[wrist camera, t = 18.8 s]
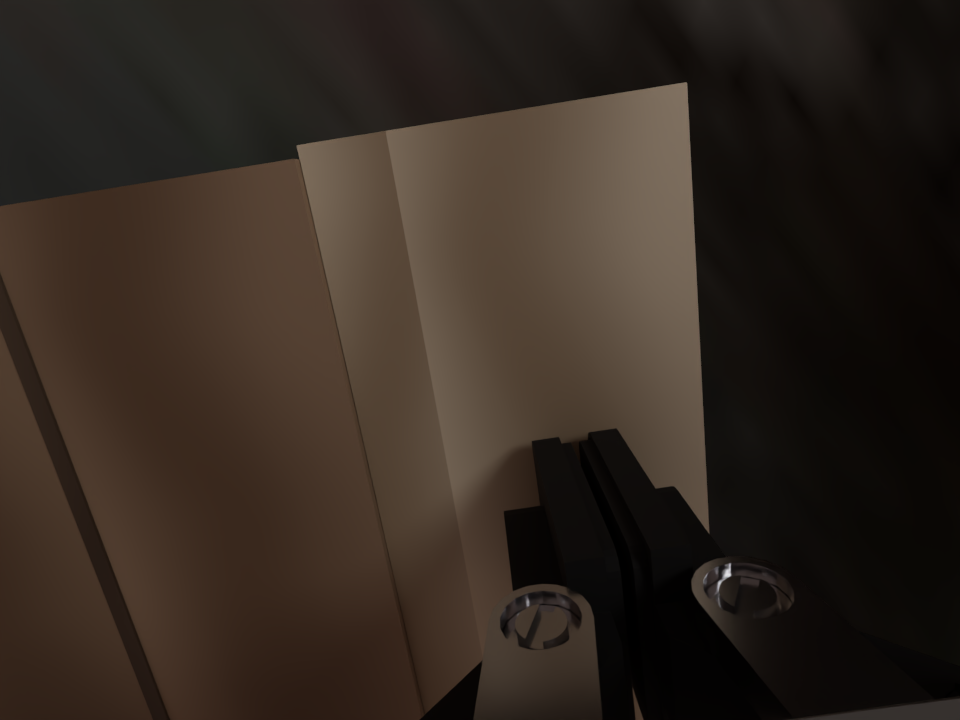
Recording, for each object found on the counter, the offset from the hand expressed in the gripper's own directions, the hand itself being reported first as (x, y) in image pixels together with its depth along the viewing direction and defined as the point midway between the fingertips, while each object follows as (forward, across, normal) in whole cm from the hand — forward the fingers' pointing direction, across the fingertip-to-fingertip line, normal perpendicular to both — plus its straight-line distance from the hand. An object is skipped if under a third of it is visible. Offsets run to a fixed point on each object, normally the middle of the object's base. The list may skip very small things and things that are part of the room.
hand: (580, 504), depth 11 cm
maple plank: (+4, 0, 0) cm, 4 cm away
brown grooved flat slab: (+4, +10, 0) cm, 10 cm away
